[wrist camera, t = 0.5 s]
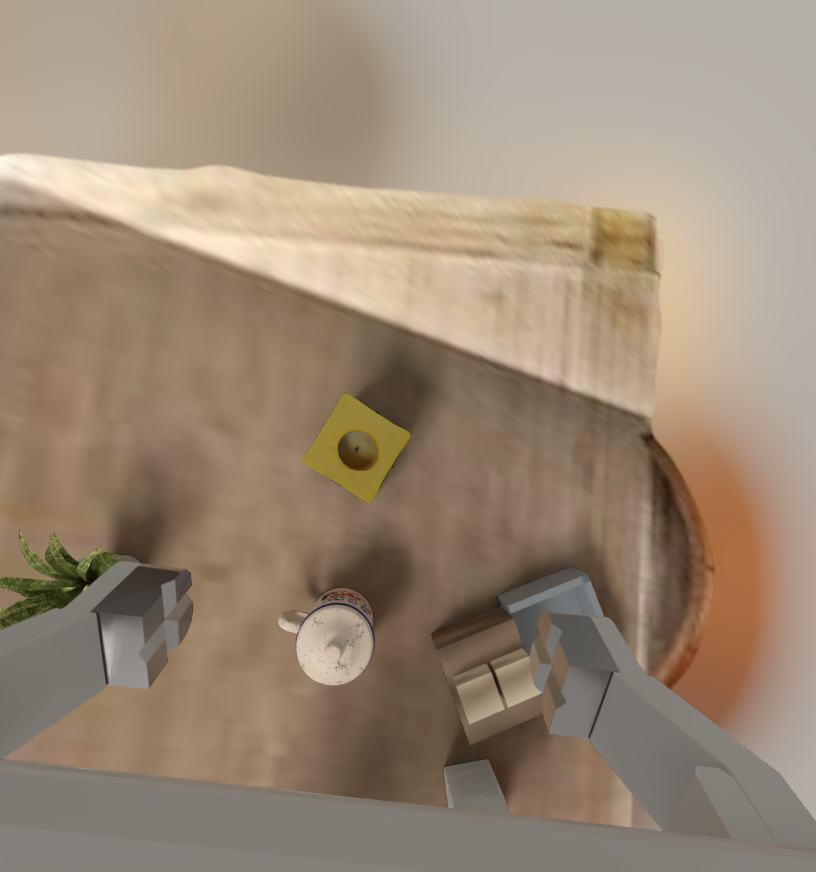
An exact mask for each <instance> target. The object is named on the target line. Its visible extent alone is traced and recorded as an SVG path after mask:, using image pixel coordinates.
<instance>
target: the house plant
mask: <svg viewBox="0 0 816 872" xmlns="http://www.w3.org/2000/svg"><path fill="white" fill-rule="evenodd" d="M19 539H20V546H21V550H22V553H23V555H24V557H25V558H26V560H27V561H28V562H29V564H30V565H31V566H32V567H33V568H34V569H35V570H37V571H38V572H39V573H42V574H45V575H47V576H50V577H52V578H55V579H57V580H60V581H45V580H34V579H22V578H9V577H3V578H0V588H7V589H9V590H11V591H14V592H17V593H20V594H21V595H22V596H25V597H30V598H27V599H25V600H22V601H19V602H17V603H15V604H14V605H13V606H11V607H9V608H7V609H4V608H0V612H1V613H0V618H2V617H3V618H2V619H0V630H2V629H5V628H7V627H10V626H12V625H15V624H17V623H20V622H22V621H25V620H27V619H30V618H32V617H35V616H37V615H40V614H42V613H45V612H47V611H50V610H52V609H55V608H57V609H62V608H64V607H66V606H67V605H68V604H69V603H70V602H72V601H73V600H74V599H75V598H76V597H77V596H78V595H80V594H81V593H82V592H83V591H84V590H85V589H86V588H88V587H89V586H90V585H91V584H92V583H93V582H94V581H96V580H97V579H98V578H99V577H100V576H101V575H103V574H104V573H105V572H106V571H107V570H108V569H109V568H111V567H112V566H113V565H114V564H115V563H118V562H121V561H127V562H134V563H140V562H139V561H138V560H137V559H136V558H134V557H132V556H129V555H120V554H112V553H107V552H104V553H100V554H98V555H96V554H97V553H98V552H99V550H100V548H101V546H100V547H98V548H97V549H95V550H94V551H92V552H91V553H90V554H89V555H88V556H86V557H84V558H82V559H80V560H78V561H76V560H74V559H73V558H72V557H71V556H70V555H69V554H68V553H67V551H66V550H65V549H64V547H63V546H62V545H61V544H60V543H59V541H58V538H57V535H56V534H55V532H54V538H53V539H52V537H51V534H50V542H49V544H50V546H49V547H48V549H47V550H46V553H45V559H46V561H47V563H48V564H49V565H50V566H51V567H52V568H53V569H54V570H53V569H52V568H50V567H49V566H47V565H46V564H45V563H44V562H42V561H41V559H40V558H39V557H38V556H37V555H36V554H35V553H34V552H33V551H32V550H31V549H30V548H29V546H28V545H27V543H26V540H25V538H24V536H23V535H22V534H21V532H20V529H19ZM53 541H54V542H53Z"/></svg>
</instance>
